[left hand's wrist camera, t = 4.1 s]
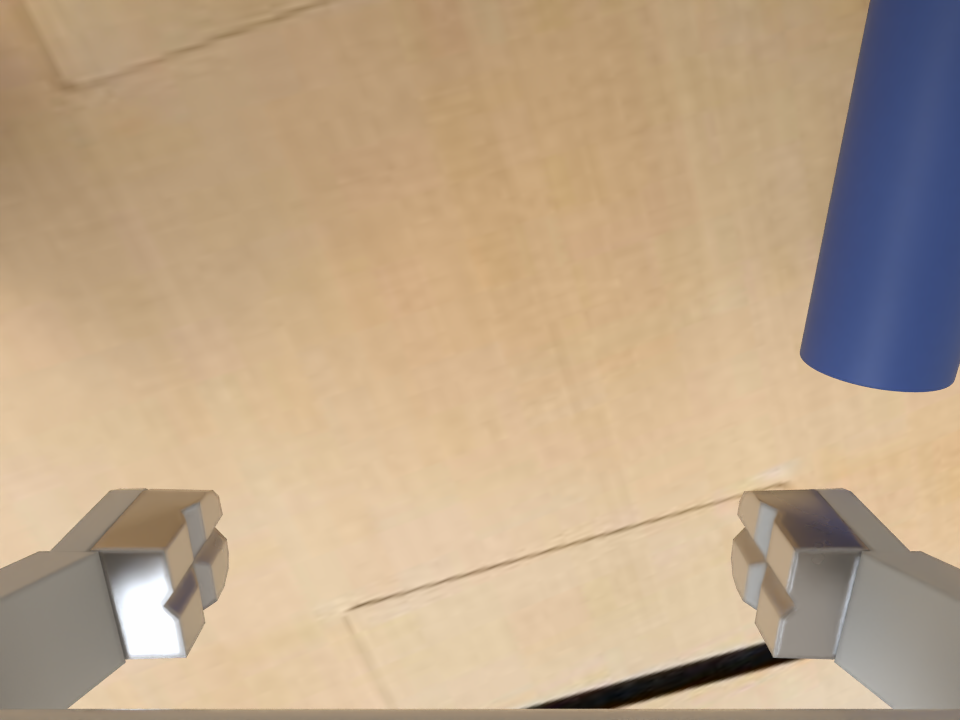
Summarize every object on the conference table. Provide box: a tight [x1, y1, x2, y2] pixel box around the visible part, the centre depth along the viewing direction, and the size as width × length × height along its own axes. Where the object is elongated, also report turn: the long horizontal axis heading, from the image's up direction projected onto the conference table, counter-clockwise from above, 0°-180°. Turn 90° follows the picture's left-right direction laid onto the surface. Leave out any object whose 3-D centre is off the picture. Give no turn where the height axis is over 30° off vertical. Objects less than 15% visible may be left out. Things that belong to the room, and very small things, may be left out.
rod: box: [800, 0, 960, 392], centre depth 25 cm, size 23×6×6 cm, turn 0°
